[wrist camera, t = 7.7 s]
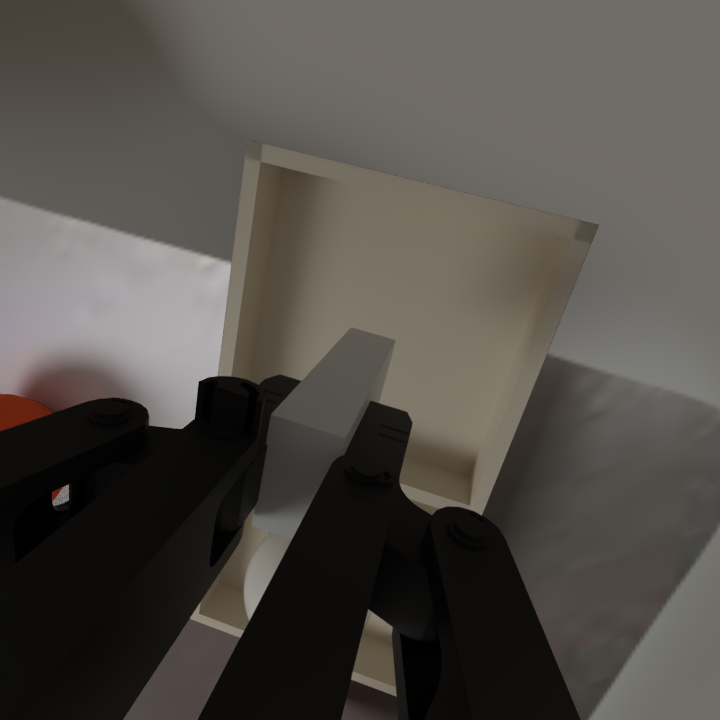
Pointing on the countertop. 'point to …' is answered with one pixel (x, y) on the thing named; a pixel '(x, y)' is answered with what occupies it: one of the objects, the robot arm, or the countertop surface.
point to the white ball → (266, 570)
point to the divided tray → (395, 324)
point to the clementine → (21, 414)
